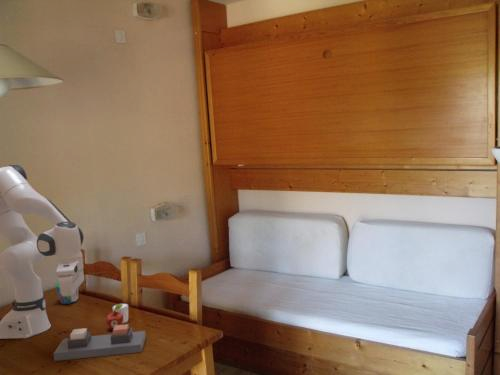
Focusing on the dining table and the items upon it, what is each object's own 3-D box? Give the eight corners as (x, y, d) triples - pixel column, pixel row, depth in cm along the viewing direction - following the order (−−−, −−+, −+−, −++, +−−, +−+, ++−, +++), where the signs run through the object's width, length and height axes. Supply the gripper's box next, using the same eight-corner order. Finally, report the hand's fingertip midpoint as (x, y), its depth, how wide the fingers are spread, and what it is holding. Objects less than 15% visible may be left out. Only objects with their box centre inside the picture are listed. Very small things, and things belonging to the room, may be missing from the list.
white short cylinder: (131, 318, 224) (130, 303, 223) (126, 324, 217) (125, 308, 217) (117, 318, 225) (115, 303, 224) (111, 324, 218) (109, 309, 217)
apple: (117, 332, 208) (115, 309, 207) (104, 331, 211) (101, 308, 210) (128, 325, 216) (125, 303, 214) (114, 324, 218) (112, 302, 217)
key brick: (113, 337, 191) (113, 330, 190) (116, 332, 196) (115, 325, 195) (127, 336, 191) (126, 329, 191) (129, 331, 196) (128, 324, 196)
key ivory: (70, 342, 189) (70, 334, 189) (74, 336, 194) (73, 329, 194) (84, 340, 190) (83, 333, 189) (87, 335, 195) (86, 328, 194)
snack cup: (57, 299, 258) (55, 280, 257) (79, 295, 261) (76, 276, 260) (57, 308, 243) (55, 288, 242) (80, 304, 247) (77, 284, 246)
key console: (54, 361, 186) (52, 345, 185) (64, 346, 198) (62, 331, 198) (141, 352, 188) (140, 336, 187) (145, 337, 201) (144, 323, 200)
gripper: (69, 258, 199) (73, 292, 200) (54, 272, 178) (58, 310, 180) (86, 257, 199) (89, 290, 201) (72, 271, 179) (76, 308, 180)
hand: (75, 300), depth 190 cm, fingers closed
